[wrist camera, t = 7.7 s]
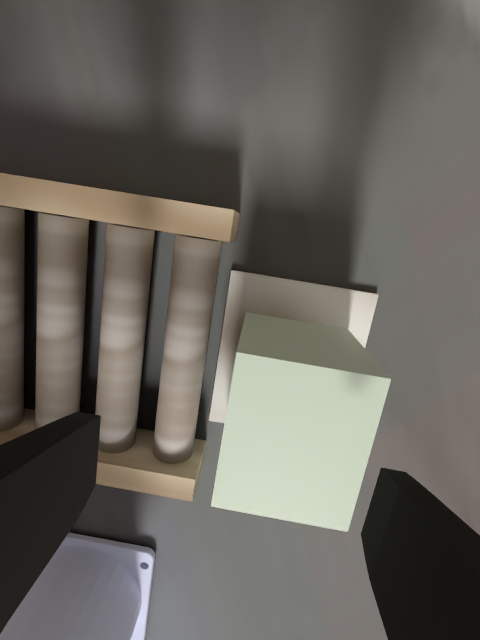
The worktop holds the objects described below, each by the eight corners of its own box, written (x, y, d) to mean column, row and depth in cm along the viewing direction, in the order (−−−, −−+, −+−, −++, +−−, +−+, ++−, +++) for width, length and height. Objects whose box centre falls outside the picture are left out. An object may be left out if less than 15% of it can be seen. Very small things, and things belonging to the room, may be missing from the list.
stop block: (321, 438, 19) (347, 531, 13) (227, 421, 19) (210, 506, 13) (348, 329, 17) (391, 379, 11) (245, 311, 17) (236, 351, 11)
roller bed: (329, 481, 20) (341, 528, 16) (-208, 385, 20) (-293, 413, 17) (390, 238, 16) (420, 239, 13) (-250, 136, 17) (-364, 115, 14)
